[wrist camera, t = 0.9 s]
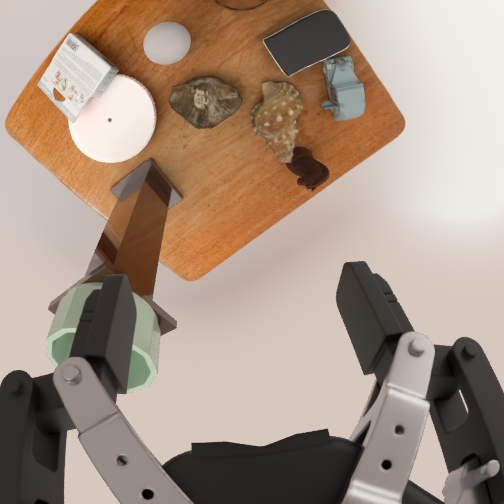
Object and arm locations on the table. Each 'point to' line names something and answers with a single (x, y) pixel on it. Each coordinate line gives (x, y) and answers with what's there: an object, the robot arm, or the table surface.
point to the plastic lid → (115, 121)
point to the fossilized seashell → (205, 101)
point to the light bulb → (167, 43)
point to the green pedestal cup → (125, 270)
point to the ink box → (76, 75)
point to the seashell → (278, 118)
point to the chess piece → (307, 168)
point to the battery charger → (307, 41)
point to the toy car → (343, 89)
